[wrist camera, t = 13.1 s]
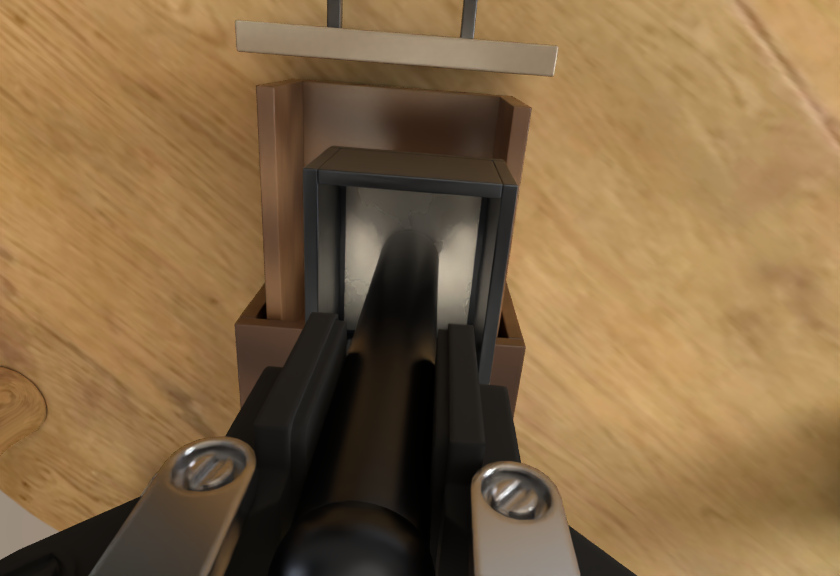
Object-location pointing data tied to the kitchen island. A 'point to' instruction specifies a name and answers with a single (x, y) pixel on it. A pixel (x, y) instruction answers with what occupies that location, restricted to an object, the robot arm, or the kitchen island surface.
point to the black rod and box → (391, 342)
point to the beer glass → (18, 408)
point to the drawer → (373, 120)
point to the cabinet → (277, 338)
